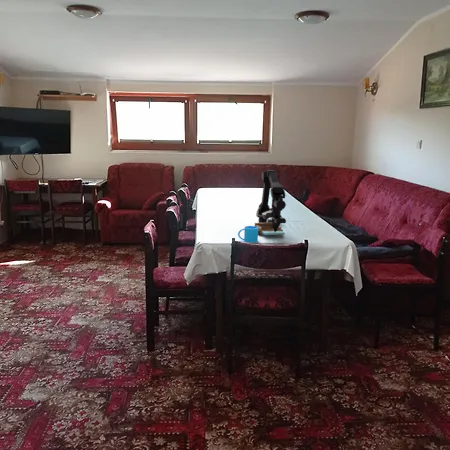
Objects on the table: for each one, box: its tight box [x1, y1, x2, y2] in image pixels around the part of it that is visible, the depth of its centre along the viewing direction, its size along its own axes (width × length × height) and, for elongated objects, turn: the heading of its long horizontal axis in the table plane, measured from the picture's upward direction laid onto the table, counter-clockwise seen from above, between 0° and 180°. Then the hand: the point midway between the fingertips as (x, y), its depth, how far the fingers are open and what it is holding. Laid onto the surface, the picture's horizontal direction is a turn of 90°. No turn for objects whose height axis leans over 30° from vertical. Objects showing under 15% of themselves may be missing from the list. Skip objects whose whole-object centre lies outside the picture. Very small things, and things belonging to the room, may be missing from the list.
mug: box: [237, 225, 259, 243], centre depth 247 cm, size 12×8×8 cm
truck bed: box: [254, 221, 284, 236], centre depth 268 cm, size 12×16×6 cm
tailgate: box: [261, 231, 286, 236], centre depth 259 cm, size 1×14×7 cm
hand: (274, 231), depth 256 cm, fingers closed
